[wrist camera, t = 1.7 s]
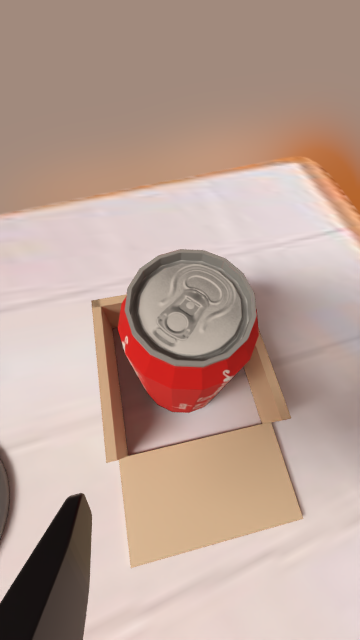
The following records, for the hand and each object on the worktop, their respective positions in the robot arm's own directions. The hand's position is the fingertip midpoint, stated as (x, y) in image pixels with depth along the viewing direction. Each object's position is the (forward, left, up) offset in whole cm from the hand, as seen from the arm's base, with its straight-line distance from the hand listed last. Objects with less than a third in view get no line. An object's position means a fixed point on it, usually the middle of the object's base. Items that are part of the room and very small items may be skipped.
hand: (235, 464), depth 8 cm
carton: (+3, -1, -12) cm, 12 cm away
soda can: (+5, -3, -12) cm, 13 cm away
